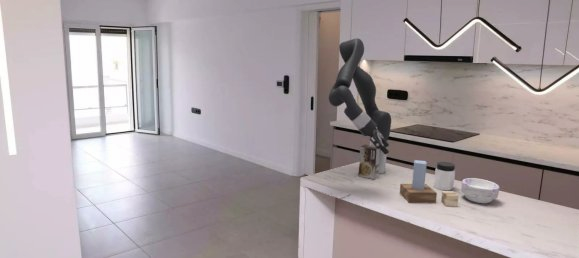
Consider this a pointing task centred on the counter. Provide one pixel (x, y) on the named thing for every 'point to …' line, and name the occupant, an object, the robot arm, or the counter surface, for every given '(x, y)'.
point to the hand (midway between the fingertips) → (387, 149)
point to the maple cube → (449, 198)
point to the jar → (444, 176)
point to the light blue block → (419, 175)
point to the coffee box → (369, 162)
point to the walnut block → (418, 194)
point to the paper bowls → (479, 190)
